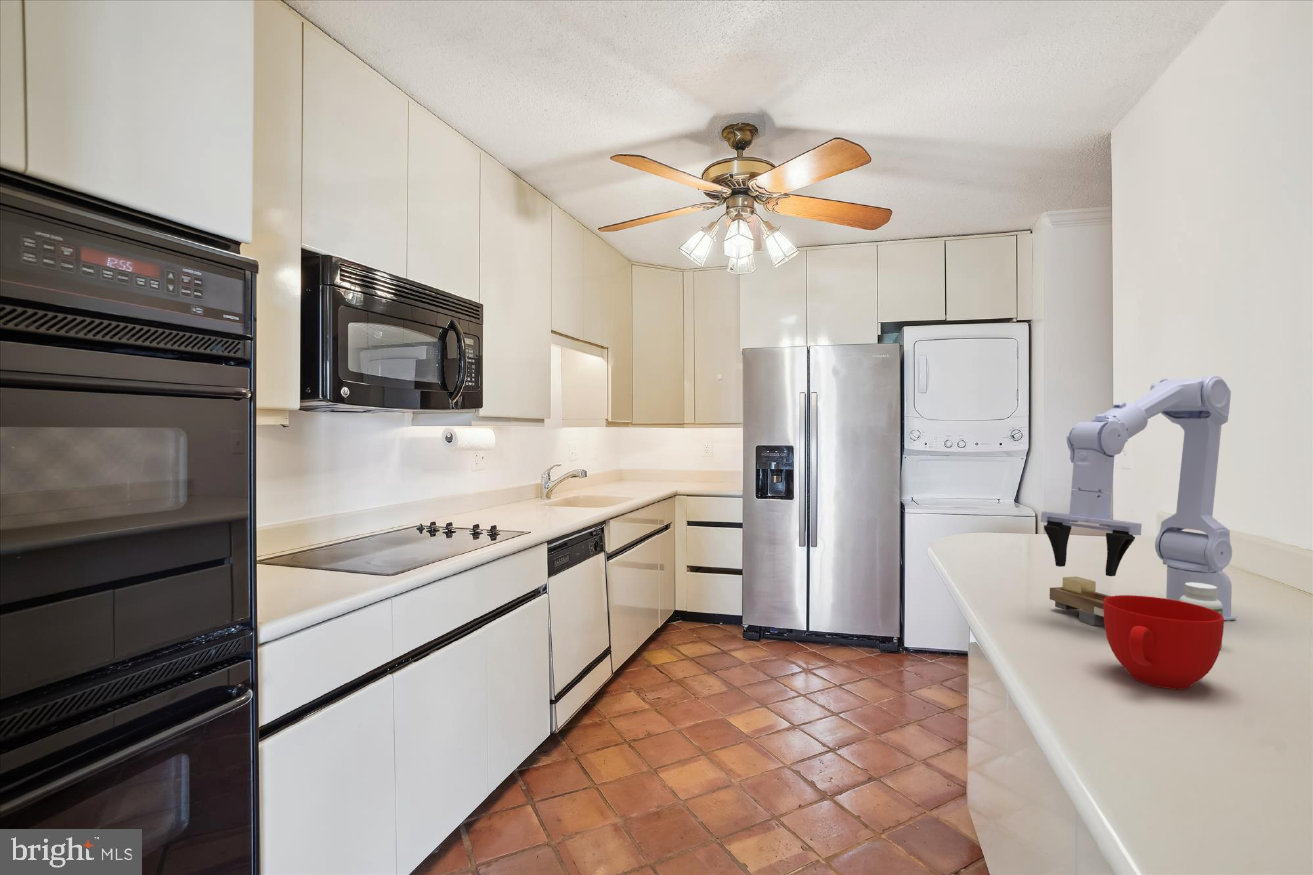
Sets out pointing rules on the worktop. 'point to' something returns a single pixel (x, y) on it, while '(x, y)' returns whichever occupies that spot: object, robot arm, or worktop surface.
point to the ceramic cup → (1163, 639)
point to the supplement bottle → (1202, 596)
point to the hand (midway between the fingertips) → (1084, 570)
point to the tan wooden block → (1080, 586)
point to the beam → (1080, 605)
